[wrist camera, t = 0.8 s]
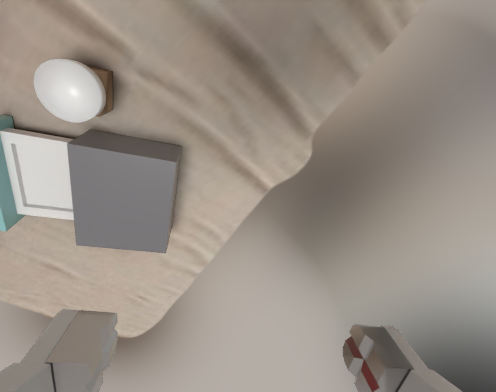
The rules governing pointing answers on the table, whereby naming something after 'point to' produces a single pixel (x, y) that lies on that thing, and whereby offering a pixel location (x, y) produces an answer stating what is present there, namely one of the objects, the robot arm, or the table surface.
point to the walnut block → (105, 87)
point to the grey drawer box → (122, 191)
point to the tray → (32, 175)
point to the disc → (69, 90)
